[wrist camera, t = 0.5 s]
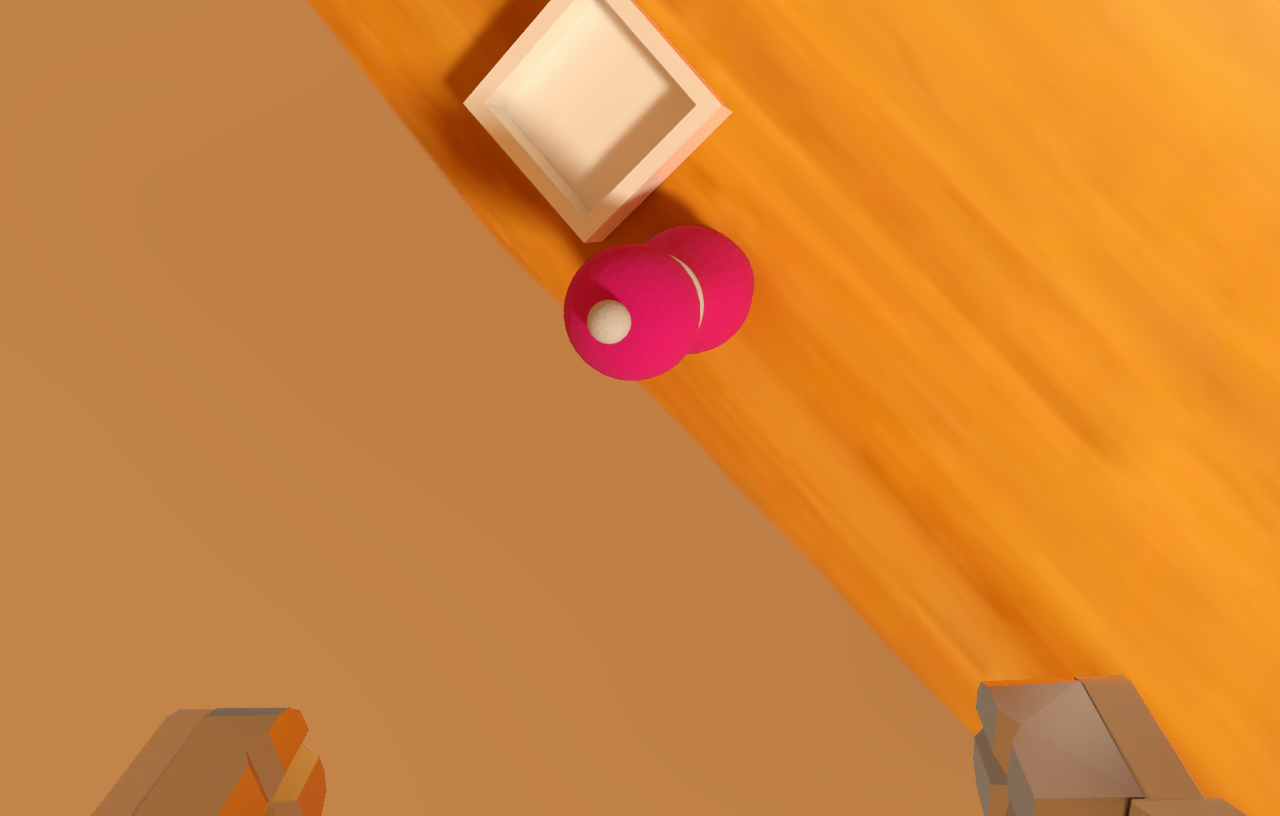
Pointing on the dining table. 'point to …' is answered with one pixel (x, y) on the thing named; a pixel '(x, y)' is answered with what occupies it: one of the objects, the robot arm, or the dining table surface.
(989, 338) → the dining table surface
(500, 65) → the mill holder
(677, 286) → the pepper mill
